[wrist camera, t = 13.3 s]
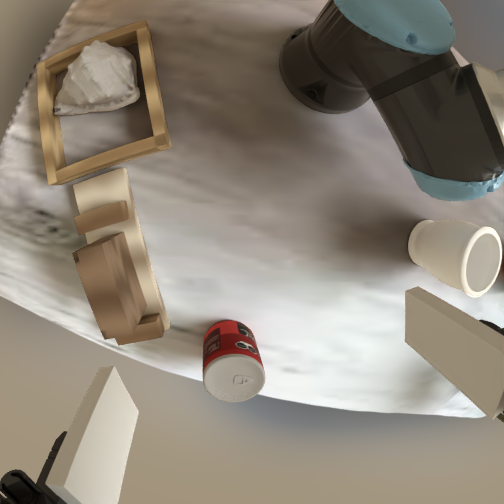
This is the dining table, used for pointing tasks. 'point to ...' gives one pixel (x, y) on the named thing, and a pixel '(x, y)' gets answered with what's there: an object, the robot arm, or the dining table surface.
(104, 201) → the ledge
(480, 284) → the jar
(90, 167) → the shell cradle
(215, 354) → the canned food
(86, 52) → the seashell
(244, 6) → the dining table surface
